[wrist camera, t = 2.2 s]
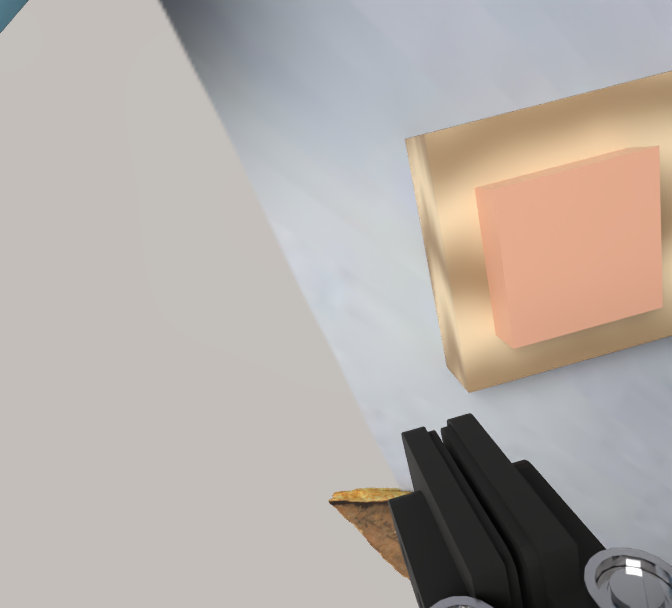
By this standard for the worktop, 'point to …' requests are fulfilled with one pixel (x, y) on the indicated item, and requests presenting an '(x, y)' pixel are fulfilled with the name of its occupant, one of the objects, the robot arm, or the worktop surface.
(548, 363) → the oak board
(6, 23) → the data package
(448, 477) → the robot arm
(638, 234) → the terracotta coaster
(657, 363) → the worktop surface
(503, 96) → the worktop surface
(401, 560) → the shard
